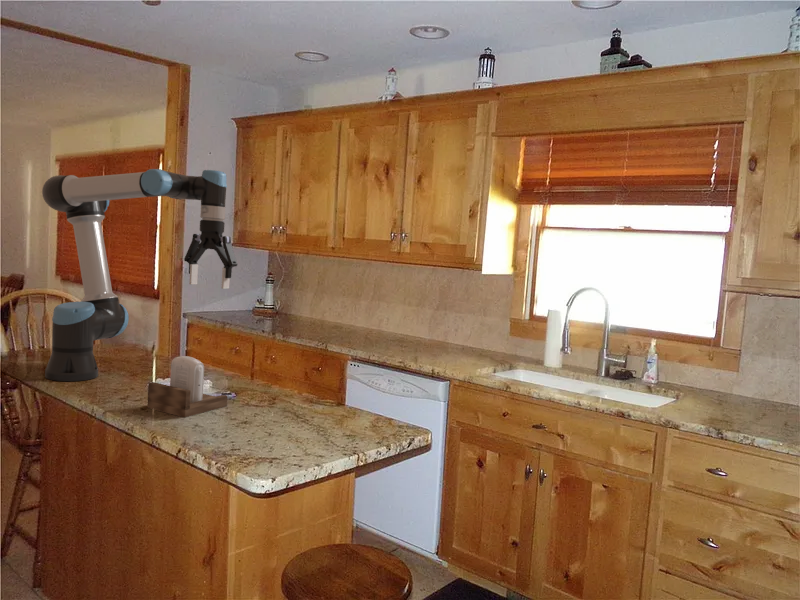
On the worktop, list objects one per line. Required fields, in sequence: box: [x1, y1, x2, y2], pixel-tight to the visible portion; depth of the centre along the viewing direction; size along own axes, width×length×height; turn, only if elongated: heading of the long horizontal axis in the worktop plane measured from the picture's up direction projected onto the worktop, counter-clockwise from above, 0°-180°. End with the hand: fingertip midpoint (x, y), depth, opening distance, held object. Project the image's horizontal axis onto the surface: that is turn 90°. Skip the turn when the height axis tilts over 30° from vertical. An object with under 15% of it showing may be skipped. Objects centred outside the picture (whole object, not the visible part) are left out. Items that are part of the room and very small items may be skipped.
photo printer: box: [169, 355, 205, 403], centre depth 180 cm, size 10×4×12 cm, turn 60°
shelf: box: [146, 381, 228, 418], centre depth 181 cm, size 14×16×7 cm
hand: (209, 286), depth 208 cm, fingers open, 13 cm apart
